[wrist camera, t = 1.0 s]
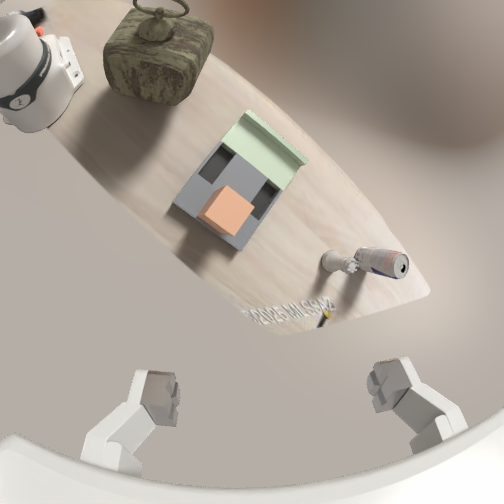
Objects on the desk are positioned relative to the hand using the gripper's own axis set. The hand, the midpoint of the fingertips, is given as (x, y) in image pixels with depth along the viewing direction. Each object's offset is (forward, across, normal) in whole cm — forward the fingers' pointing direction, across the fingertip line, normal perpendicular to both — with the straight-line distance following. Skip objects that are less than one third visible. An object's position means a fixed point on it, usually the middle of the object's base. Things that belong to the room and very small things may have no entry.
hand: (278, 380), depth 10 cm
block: (+36, +5, +7) cm, 37 cm away
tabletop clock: (+44, +17, -15) cm, 49 cm away
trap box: (+41, +2, +3) cm, 41 cm away
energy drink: (+43, -26, +20) cm, 54 cm away
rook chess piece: (+40, -17, +19) cm, 48 cm away
